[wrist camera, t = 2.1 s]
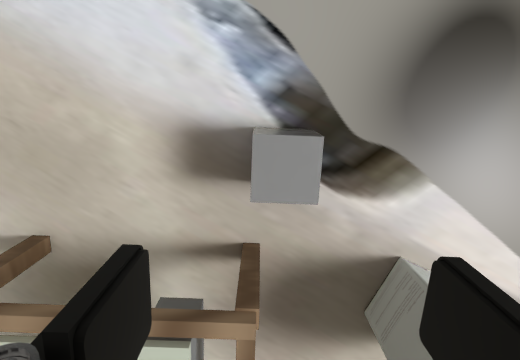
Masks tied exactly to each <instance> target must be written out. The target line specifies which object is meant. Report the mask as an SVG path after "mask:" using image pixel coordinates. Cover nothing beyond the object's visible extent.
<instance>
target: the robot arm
mask: <svg viewBox="0 0 520 360" xmlns="http://www.w3.org/2000/svg"><path fill="white" fill-rule="evenodd" d="M151 325H152V315H151V294H150V274H149V254H148V250H143V247H142V246H141V245H126V244H123V245H122V246H121V247H120V248H119V249H118V250H117V251H116V252H115V253H114V254H113V255H112V256H111V257H110V258H109V259H108V261H107V262H106V263H105V264H104V265H103V266H102V267H101V268H100V269H99V270H98V271H97V272H96V273H95V275H94V276H93V277H92V278H91V279H90V280H89V281H88V282H87V283H86V284H85V285H84V286H83V287H82V288H81V290H80V291H79V292H78V293H77V294H76V295H75V296H74V297H73V298H72V299H71V300H70V301H69V302H68V304H67V305H66V306H65V307H64V308H63V309H62V310H61V311H60V312H59V313H58V314H57V315H56V316H55V318H54V319H53V320H52V321H51V322H50V323H49V324H48V325H47V326H46V327H45V328H44V329H43V330H42V332H41V333H40V334H39V335H38V336H37V337H36V338H35V339H34V340H33V341H32V342H31V344H29V343H21V342H17V343H9V344H5V345H1V346H0V360H137V359H138V357H139V355H140V353H141V350H142V348H143V346H144V344H145V342H146V340H147V337H148V335H149V333H150V330H151ZM419 336H420V340H421V342H422V344H423V345H424V347H425V348H426V350H427V351H428V353H429V354H430V356H431V357H432V359H433V360H520V304H519V303H518V302H516V301H515V300H514V299H513V298H511V297H510V296H509V295H507V294H506V293H505V292H504V291H502V290H501V289H500V288H499V287H497V286H496V285H495V284H494V283H492V282H491V281H490V280H488V279H487V278H486V277H485V276H483V275H482V274H481V273H480V272H478V271H477V270H476V269H475V268H473V267H472V266H471V265H470V264H468V263H467V262H466V261H464V260H463V259H462V258H460V257H440V258H438V260H437V261H434V262H433V264H432V268H431V273H430V278H429V283H428V288H427V293H426V298H425V303H424V308H423V313H422V318H421V323H420V328H419Z"/></svg>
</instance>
